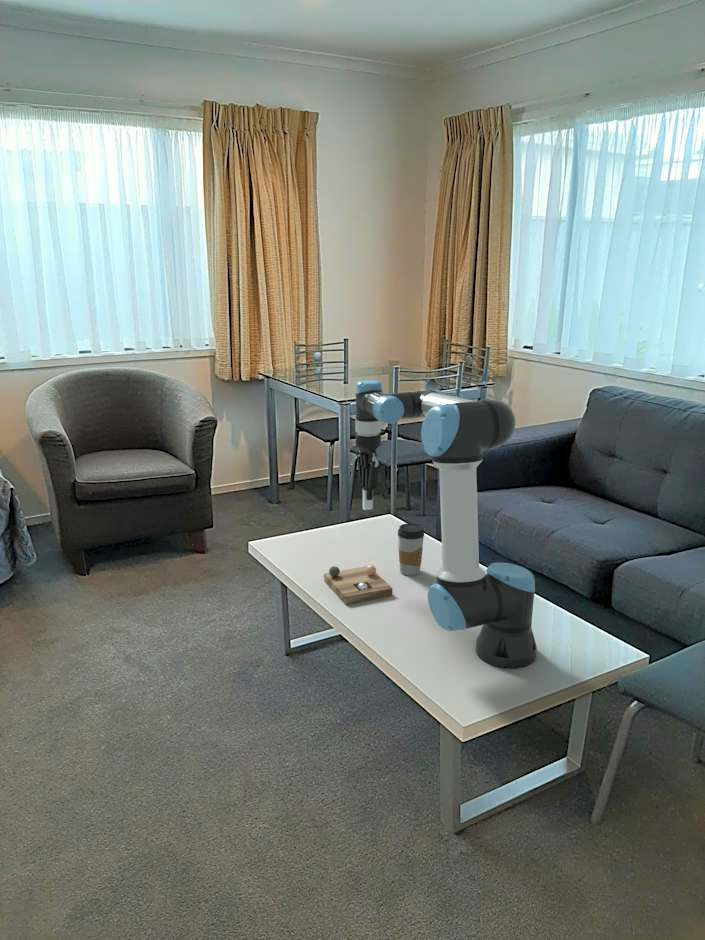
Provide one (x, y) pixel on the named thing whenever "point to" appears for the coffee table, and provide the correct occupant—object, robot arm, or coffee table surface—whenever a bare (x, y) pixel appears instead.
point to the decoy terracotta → (370, 570)
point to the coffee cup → (410, 548)
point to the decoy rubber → (334, 571)
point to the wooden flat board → (349, 581)
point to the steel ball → (362, 586)
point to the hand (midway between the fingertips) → (367, 508)
